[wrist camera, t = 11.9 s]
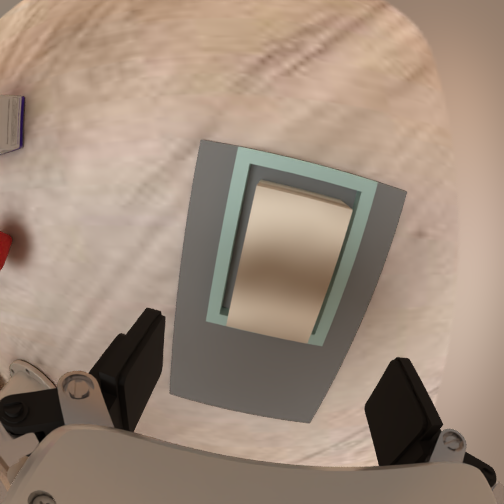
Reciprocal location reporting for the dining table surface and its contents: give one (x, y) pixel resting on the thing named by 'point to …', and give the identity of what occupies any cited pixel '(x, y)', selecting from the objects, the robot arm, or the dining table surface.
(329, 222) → the beige block
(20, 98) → the supplement box
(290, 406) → the charcoal mat
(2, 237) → the strawberry
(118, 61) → the dining table surface
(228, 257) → the teal frame
